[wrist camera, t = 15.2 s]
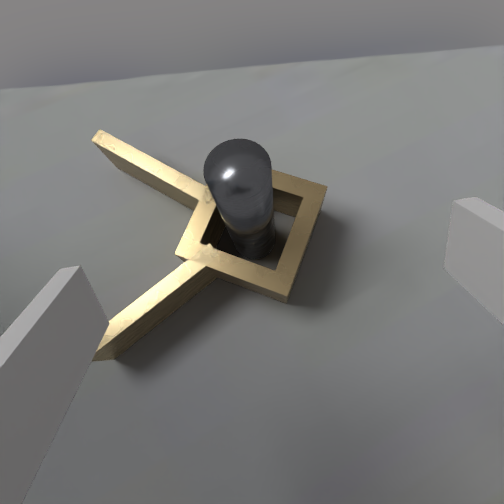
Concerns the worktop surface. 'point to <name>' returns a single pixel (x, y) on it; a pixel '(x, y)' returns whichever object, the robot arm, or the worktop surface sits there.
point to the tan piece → (205, 244)
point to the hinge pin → (243, 194)
